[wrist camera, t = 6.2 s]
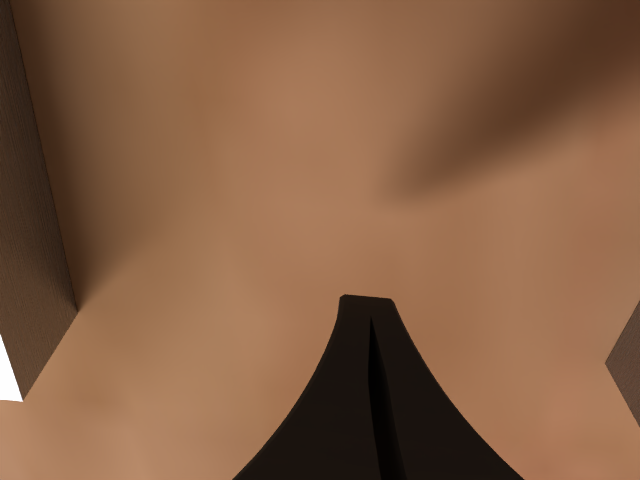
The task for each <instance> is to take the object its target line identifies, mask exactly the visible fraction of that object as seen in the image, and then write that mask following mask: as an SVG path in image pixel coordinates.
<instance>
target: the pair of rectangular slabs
mask: <svg viewBox="0 0 640 480" xmlns="http://www.w3.org/2000/svg"><path fill="white" fill-rule="evenodd" d="M77 314H78V313H77V309H76V304H75V300H74V295H73V291H72V286H71V281H70V277H69V272H68V268H67V263H66V259H65V254H64V249H63V245H62V240H61V236H60V231H59V227H58V222H57V217H56V213H55V208H54V204H53V199H52V195H51V190H50V185H49V181H48V176H47V172H46V167H45V163H44V158H43V153H42V149H41V144H40V140H39V135H38V131H37V126H36V122H35V117H34V112H33V108H32V103H31V99H30V94H29V90H28V85H27V80H26V76H25V71H24V67H23V62H22V58H21V53H20V48H19V44H18V39H17V35H16V30H15V26H14V21H13V16H12V12H11V7H10V3H9V0H0V399H4V400H15V401H23V400H24V398H25V397H26V395H27V394H28V392H29V390H30V389H31V387H32V386H33V384H34V382H35V381H36V379H37V378H38V376H39V374H40V373H41V371H42V370H43V368H44V367H45V365H46V363H47V362H48V360H49V359H50V357H51V355H52V354H53V352H54V351H55V349H56V347H57V346H58V344H59V343H60V341H61V340H62V338H63V336H64V335H65V333H66V332H67V330H68V328H69V327H70V325H71V324H72V322H73V320H74V319H75V317H76V316H77ZM605 365H606V366H607V368H608V370H609V372H610V374H611V376H612V377H613V379H614V381H615V383H616V385H617V387H618V388H619V390H620V392H621V394H622V396H623V398H624V399H625V401H626V403H627V405H628V407H629V408H630V410H631V412H632V414H633V416H634V418H635V419H636V421H637V423H638V425H639V427H640V302H639V304H638V306H637V308H636V309H635V311H634V313H633V315H632V317H631V318H630V320H629V322H628V324H627V325H626V327H625V329H624V331H623V333H622V334H621V336H620V338H619V340H618V342H617V343H616V345H615V347H614V349H613V350H612V352H611V354H610V356H609V358H608V359H607V361H606V363H605Z"/></svg>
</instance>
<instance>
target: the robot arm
mask: <svg viewBox="0 0 640 480" xmlns="http://www.w3.org/2000/svg"><path fill="white" fill-rule="evenodd" d="M232 480H524V479H523V478H522V477H521V476H520V475H519V474H518V473H517V472H515V471H514V470H513V469H512V468H511V467H510V466H509V465H508V464H507V463H506V462H505V461H504V460H503V459H502V458H501V457H500V456H499V455H498V454H497V453H496V452H495V451H494V450H493V449H492V448H491V447H490V446H489V445H488V444H487V443H486V442H485V441H484V440H483V439H482V438H481V436H480V435H479V434H478V433H477V432H476V431H475V430H474V429H473V428H472V426H471V425H470V424H469V423H468V422H467V420H466V419H465V418H464V417H463V416H462V414H461V413H460V412H459V411H458V409H457V408H456V407H455V406H454V404H453V403H452V402H451V400H450V399H449V398H448V396H447V395H446V394H445V392H444V391H443V389H442V388H441V387H440V385H439V384H438V382H437V381H436V379H435V378H434V376H433V375H432V373H431V372H430V370H429V368H428V367H427V365H426V364H425V362H424V360H423V359H422V357H421V355H420V353H419V352H418V350H417V348H416V347H415V345H414V343H413V341H412V339H411V337H410V336H409V334H408V332H407V330H406V328H405V326H404V324H403V322H402V320H401V317H400V315H399V313H398V311H397V308H396V306H395V304H394V302H393V301H392V300H391V299H389V298H378V297H368V296H357V295H346V294H345V295H343V296H341V297H340V300H339V307H338V314H337V320H336V323H335V326H334V329H333V332H332V334H331V337H330V339H329V342H328V344H327V347H326V349H325V352H324V354H323V356H322V358H321V360H320V362H319V364H318V366H317V368H316V370H315V372H314V374H313V376H312V377H311V379H310V381H309V383H308V384H307V386H306V388H305V389H304V391H303V393H302V394H301V396H300V398H299V399H298V401H297V402H296V404H295V405H294V407H293V408H292V409H291V411H290V412H289V414H288V415H287V417H286V418H285V419H284V421H283V422H282V424H281V425H280V426H279V428H278V429H277V430H276V431H275V432H274V434H273V435H272V436H271V437H270V439H269V440H268V441H267V442H266V444H265V445H264V446H263V447H262V448H261V450H260V451H259V452H258V453H257V454H256V455H255V456H254V457H253V459H252V460H251V461H250V462H249V463H248V464H247V465H246V466H245V467H244V468H243V469H242V470H241V471H240V472H239V473H238V474H237V475H236V476H235V477H234V478H233V479H232Z"/></svg>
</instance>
